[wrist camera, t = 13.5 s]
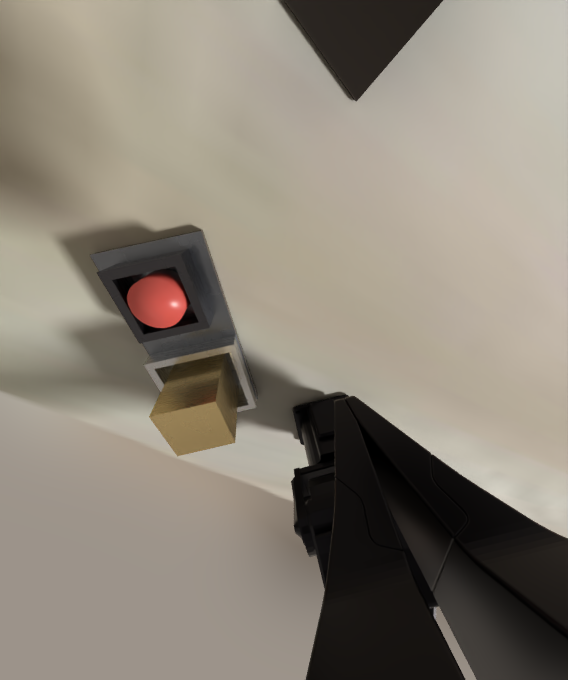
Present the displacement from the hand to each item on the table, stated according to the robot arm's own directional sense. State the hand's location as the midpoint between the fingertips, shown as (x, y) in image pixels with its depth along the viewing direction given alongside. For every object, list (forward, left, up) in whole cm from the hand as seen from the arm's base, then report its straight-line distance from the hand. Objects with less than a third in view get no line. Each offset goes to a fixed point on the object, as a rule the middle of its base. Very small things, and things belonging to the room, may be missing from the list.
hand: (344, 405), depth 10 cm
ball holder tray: (-1, +9, -12) cm, 15 cm away
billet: (-5, +9, -11) cm, 15 cm away
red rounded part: (+3, +9, -11) cm, 15 cm away
